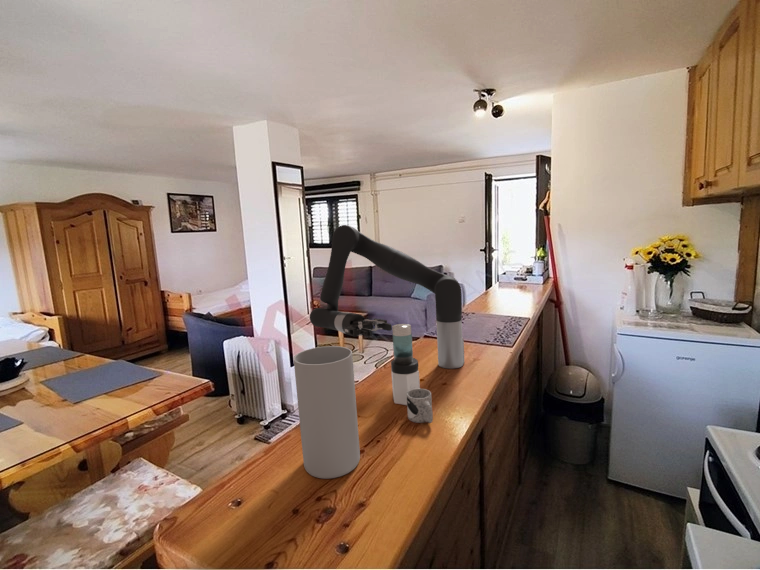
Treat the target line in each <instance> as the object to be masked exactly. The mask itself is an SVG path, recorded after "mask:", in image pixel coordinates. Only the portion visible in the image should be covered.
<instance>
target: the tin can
mask: <svg viewBox="0 0 760 570" xmlns="http://www.w3.org/2000/svg"><path fill="white" fill-rule="evenodd" d="M391 331H392V345H393V346H392V349H393V350H392V351H393V359H394V362H395V363H396V364H401V365H404V364H410V363H412V362H413V358H414V355H413V354H414V353H413V351H414V350H413V335H412V334H413V332H412V325H411V324H409V323H398V324H394V325H392V330H391Z"/></svg>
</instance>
